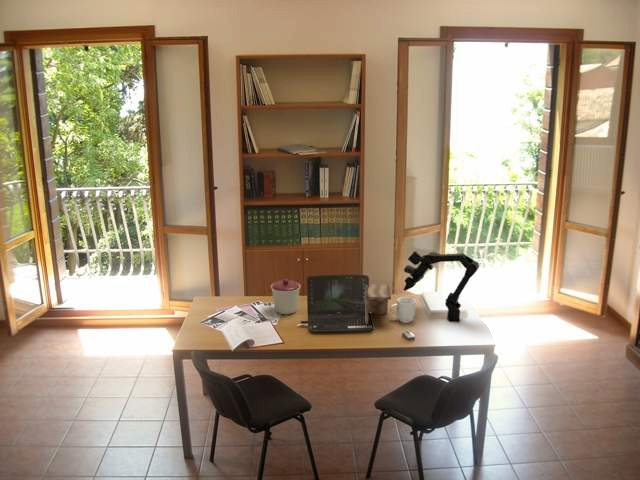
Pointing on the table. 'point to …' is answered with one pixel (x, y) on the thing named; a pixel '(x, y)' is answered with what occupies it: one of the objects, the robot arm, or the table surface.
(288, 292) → the canister
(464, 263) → the robot arm
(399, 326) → the table surface
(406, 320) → the mug
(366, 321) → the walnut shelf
